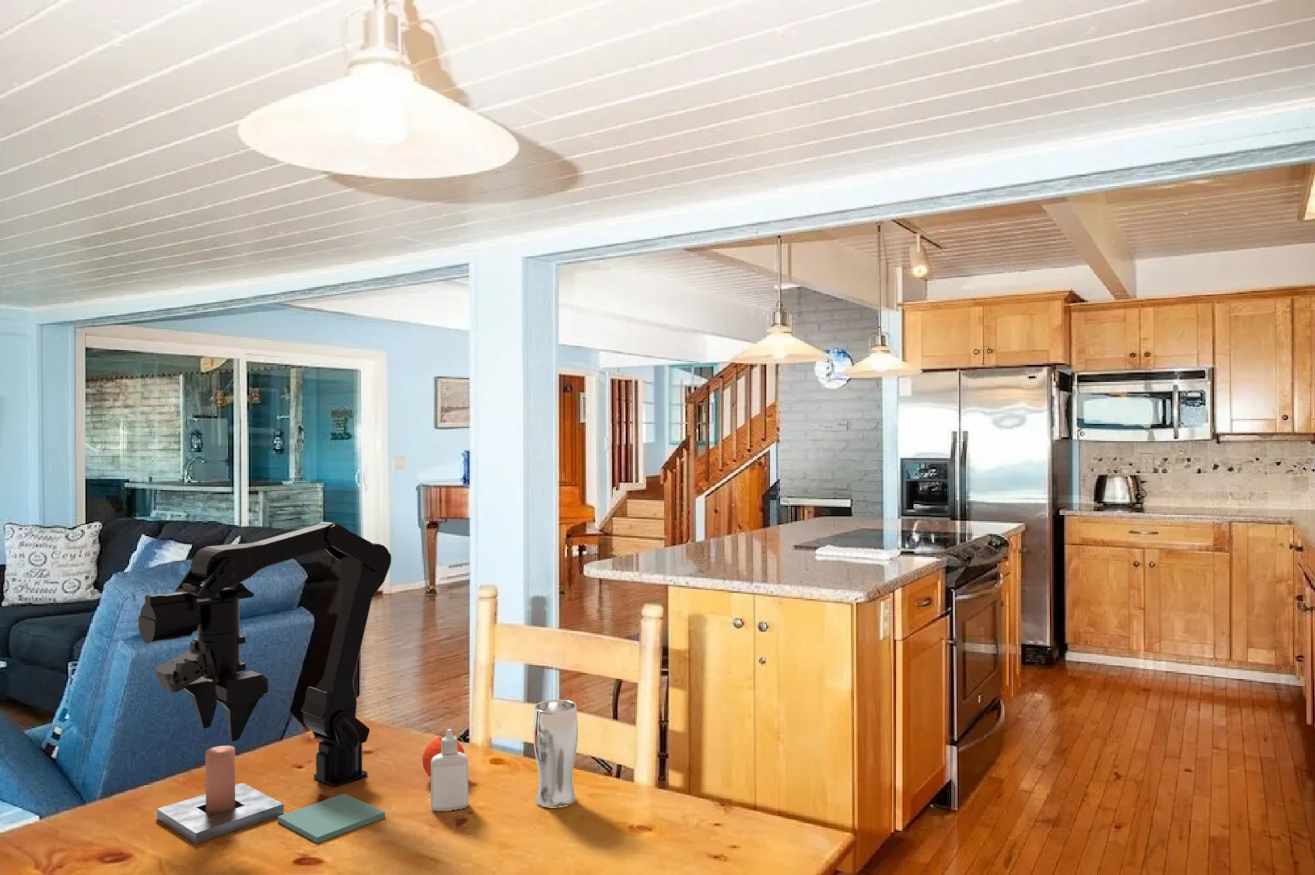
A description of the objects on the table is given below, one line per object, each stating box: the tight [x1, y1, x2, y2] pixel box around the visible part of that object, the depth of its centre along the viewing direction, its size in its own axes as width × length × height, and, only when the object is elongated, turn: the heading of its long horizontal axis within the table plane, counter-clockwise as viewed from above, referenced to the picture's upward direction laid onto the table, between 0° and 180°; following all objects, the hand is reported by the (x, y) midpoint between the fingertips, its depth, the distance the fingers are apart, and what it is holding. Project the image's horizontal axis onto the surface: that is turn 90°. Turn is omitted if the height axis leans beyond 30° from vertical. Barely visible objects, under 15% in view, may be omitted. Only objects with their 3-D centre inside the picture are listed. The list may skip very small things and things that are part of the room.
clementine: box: [422, 735, 466, 778], centre depth 153 cm, size 8×7×7 cm
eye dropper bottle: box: [430, 728, 469, 812], centre depth 141 cm, size 4×6×12 cm
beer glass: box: [532, 699, 579, 807], centre depth 143 cm, size 7×7×15 cm
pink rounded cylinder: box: [204, 745, 236, 816], centre depth 138 cm, size 4×4×10 cm
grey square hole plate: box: [156, 782, 285, 845], centre depth 138 cm, size 13×13×2 cm
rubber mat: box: [277, 793, 386, 844], centre depth 137 cm, size 11×11×1 cm
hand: (220, 734), depth 138 cm, fingers open, 9 cm apart
